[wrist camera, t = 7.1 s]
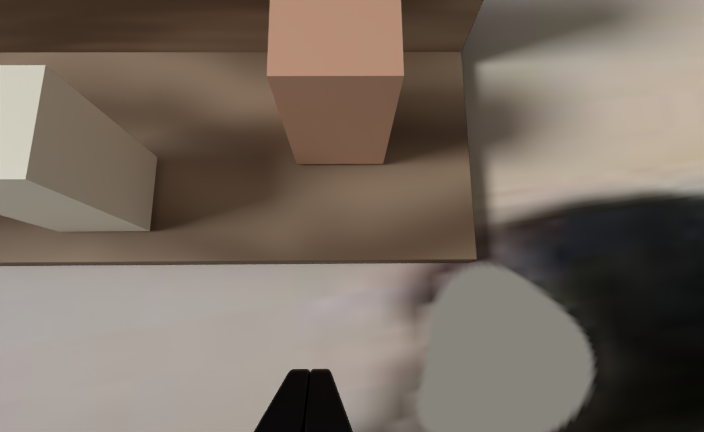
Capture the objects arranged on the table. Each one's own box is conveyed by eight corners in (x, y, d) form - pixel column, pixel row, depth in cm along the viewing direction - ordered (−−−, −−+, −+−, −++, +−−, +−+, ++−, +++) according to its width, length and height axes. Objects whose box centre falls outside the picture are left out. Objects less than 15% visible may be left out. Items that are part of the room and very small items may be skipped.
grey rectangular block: (149, 231, 21) (25, 179, 13) (58, 231, 21) (-124, 179, 13) (157, 157, 22) (45, 65, 14) (70, 157, 22) (-94, 65, 14)
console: (468, 262, 23) (628, 194, 10) (-237, 267, 23) (-1048, 203, 9) (451, 24, 26) (554, -263, 13) (-162, 24, 26) (-683, -272, 13)
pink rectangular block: (383, 163, 22) (403, 75, 14) (296, 164, 22) (266, 75, 14) (381, 95, 23) (400, -25, 15) (298, 95, 23) (270, -25, 15)
